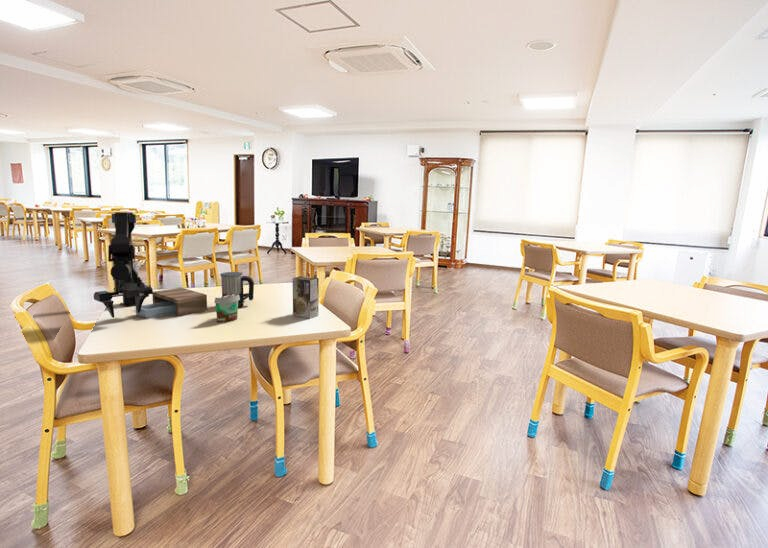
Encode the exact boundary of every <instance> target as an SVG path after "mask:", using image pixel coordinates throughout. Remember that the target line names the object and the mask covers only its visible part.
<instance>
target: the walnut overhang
mask: <svg viewBox="0 0 768 548" xmlns="http://www.w3.org/2000/svg"><path fill="white" fill-rule="evenodd" d="M151 296H152V304H154V303H160V302H165V301H172V302H175V303H176V313H175V314H176V317H179V318H181V317H184V316H190V315H193V314H198V313H202V312H207V311H208V297H207V294H205V293H202V292H199V291H194V290H192V289H189V288H188V289H187V288H185V287H182V286H181V287H174V288H167V289H161V290H155V291H154V290H153V294H151Z"/></svg>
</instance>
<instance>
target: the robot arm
mask: <svg viewBox="0 0 768 548" xmlns="http://www.w3.org/2000/svg"><path fill="white" fill-rule="evenodd" d="M111 223H112V224H114V229H115V232H114V233H115V235H114V237H112V238H111V239H110V244H108V246H107V247H108V250H107V251H108V254H107V255H108V256H107V257H108V259H107V262H108V263H110V262H113V263H112V264H113V265H112V267H111V268H110V270H109V272H110V275H111V277H112V280H113V281H114V288H113V291H111V292H110V291H108V290H100V291H95V292H94V293H93V300H94V301H97V302H100V303H102V304H103V305H104V306H105V308H106V309H107V312H108V313H109V315H110V317H111V318H113V319H114V318H115V310H114V300H112V299H113V298H117V297H122V302H120V303H119V305H122V306H123V307H132V306H135V311H136V310H137V313H139V312H140V309H141V306H143V303H144V301H145V299H146V298H148V297H150V295H152V294H153V292H154V289H153V287H152V286H149V285H146V284H145V283H144V282H143V280H142V279H141V277H140V276H139V273H138V271H137V270H136V268H135V266H134V259H135V258H136V248H135V247H134V244H133V242H132V233H133V231H134V230H135V227H136V224H137V214H136V213H133V212H128V211H126V212H125V211H124V212H123V211H121V212H119V211H115V212H114V213H111Z"/></svg>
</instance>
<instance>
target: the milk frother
mask: <svg viewBox="0 0 768 548" xmlns="http://www.w3.org/2000/svg"><path fill="white" fill-rule="evenodd" d="M243 274H244V273H243V272H240V271H226V272H225V271H224V272H222V273H220V274H219V275H220V278H221V279H220V280H221V297H223V296H225V295H230V294H231V292H237V293H238V295H239V297H240V300H239V301H238V309H239V308H242V307H243V306H244V305H245V304H244V301H245V300H247V299H248V300H249V301H253V300H254V289H255V288H254V287H255V283H254V282H255V281H254V279H253V278H252V277H250V276H249V275H248V276H247V275H243ZM244 282H247V283H248V292H247V293H244Z"/></svg>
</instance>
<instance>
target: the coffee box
mask: <svg viewBox="0 0 768 548" xmlns="http://www.w3.org/2000/svg"><path fill="white" fill-rule="evenodd" d="M319 279H320V278H319V277H313V276H306V275H305V276H303V275H299V276H296V277H293V278H292V316H293V315H295V316H294V317H299V316H300V317H301V318H304V319H305V318H306V319H312V318H315V317H317V316H319Z"/></svg>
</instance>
